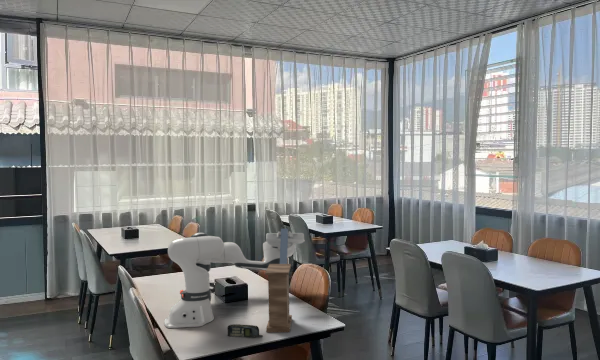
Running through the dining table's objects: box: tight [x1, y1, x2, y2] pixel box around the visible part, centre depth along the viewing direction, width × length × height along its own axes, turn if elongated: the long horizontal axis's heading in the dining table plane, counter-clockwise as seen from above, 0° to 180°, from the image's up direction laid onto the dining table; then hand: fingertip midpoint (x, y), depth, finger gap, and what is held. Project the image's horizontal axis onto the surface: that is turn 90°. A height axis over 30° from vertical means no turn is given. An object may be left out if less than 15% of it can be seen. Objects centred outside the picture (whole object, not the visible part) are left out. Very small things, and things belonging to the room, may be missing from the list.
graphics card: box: [209, 280, 216, 295], centre depth 260 cm, size 10×3×25 cm
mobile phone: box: [227, 323, 264, 339], centre depth 192 cm, size 5×3×15 cm
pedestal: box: [264, 263, 293, 333], centre depth 203 cm, size 16×10×26 cm, turn 177°
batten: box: [280, 228, 289, 264], centre depth 231 cm, size 26×4×3 cm
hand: (284, 232), depth 235 cm, fingers closed on batten, 3 cm apart
